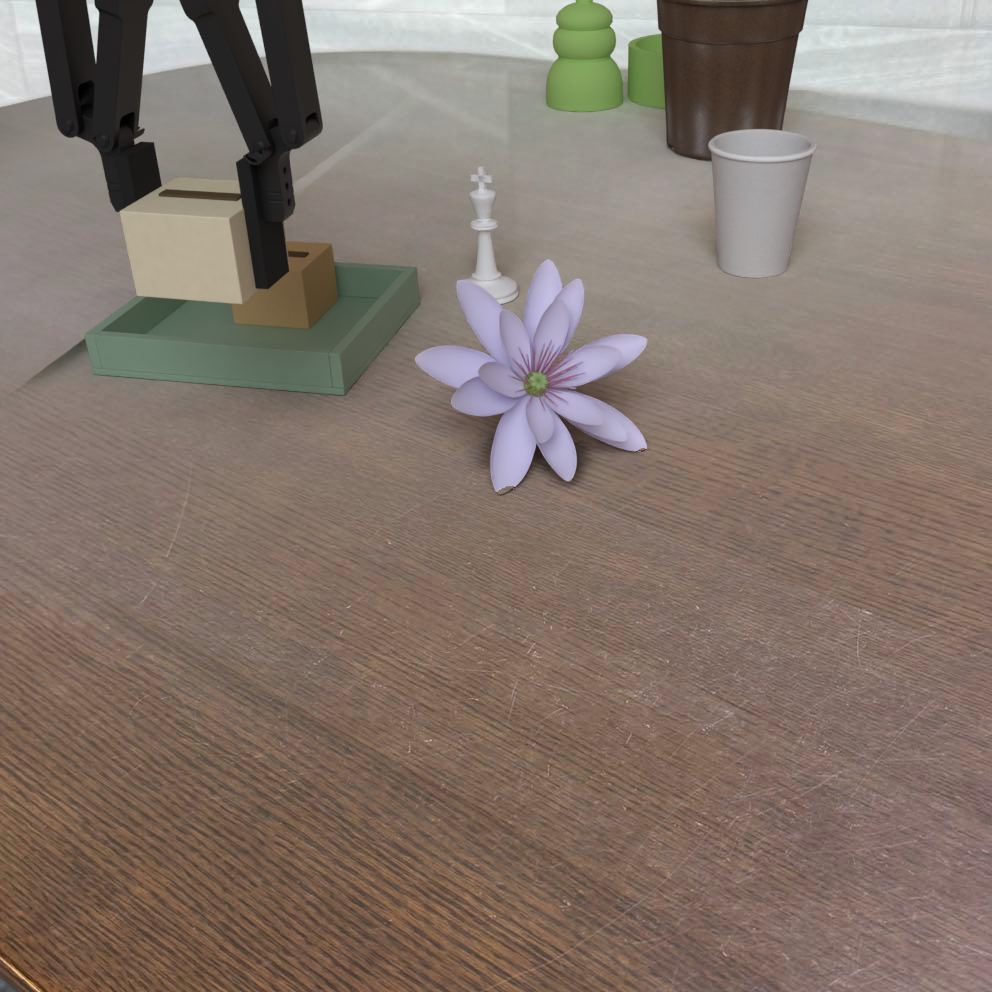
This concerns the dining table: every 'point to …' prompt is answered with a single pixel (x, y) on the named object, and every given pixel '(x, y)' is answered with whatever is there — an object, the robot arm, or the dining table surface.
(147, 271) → the beige slotted box
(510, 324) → the water lily
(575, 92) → the green stacking toy
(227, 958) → the dining table surface
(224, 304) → the tray
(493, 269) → the chess piece
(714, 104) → the plant pot
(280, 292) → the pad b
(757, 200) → the dixie cup
